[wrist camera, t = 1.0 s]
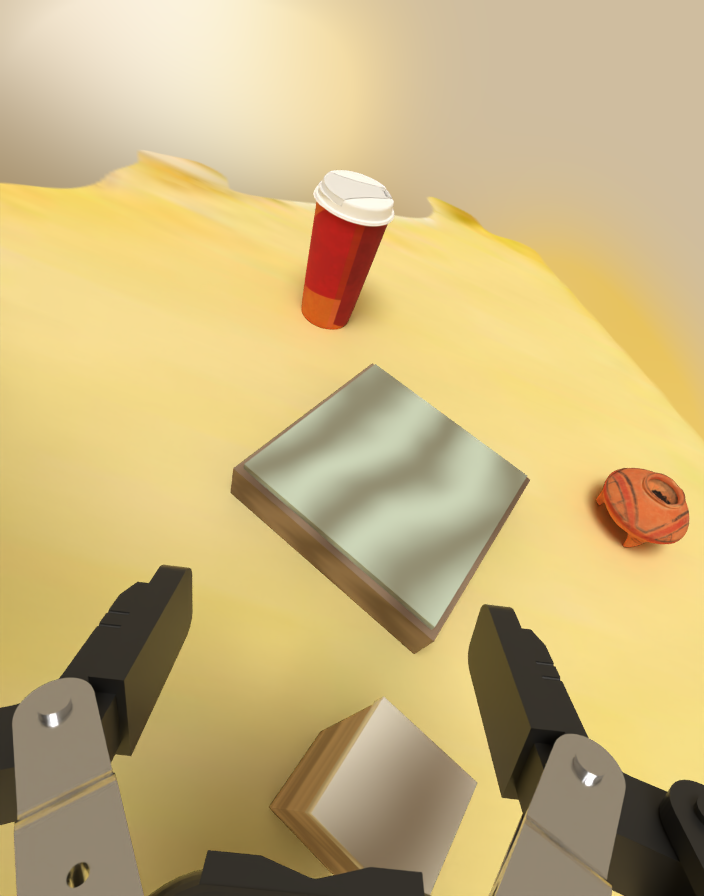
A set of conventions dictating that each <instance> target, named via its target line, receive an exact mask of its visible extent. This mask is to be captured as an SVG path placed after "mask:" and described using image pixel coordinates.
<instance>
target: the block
mask: <svg viewBox="0 0 704 896" xmlns="http://www.w3.org/2000/svg"><path fill="white" fill-rule="evenodd" d="M476 785H477V782H476V781H475V780H474V779H473V778H472V777H471V776H470V775H469V774H467V773H466V772H465V771H464V770H463V769H462V768H461V767H460V766H459V765H458V764H457V763H455V762H454V761H453V760H452V759H451V758H450V757H449V756H448V755H447V754H446V753H445V752H444V751H442V750H441V749H440V748H439V747H438V746H437V745H436V744H435V743H434V742H433V741H432V740H430V739H429V738H428V737H427V736H426V735H425V734H424V733H423V732H422V731H421V730H420V729H419V728H417V727H416V726H415V725H414V724H413V723H412V722H411V721H410V720H409V719H408V718H407V717H405V716H404V715H403V714H402V713H401V712H400V711H399V710H398V709H397V708H396V707H395V706H394V705H392V704H391V703H390V702H389V701H388V700H387V699H386V698H385V697H382V698H380V699H378V700H377V701H375V702H374V704H373V705H371V706H369V707H367V708H365V709H363V710H361V711H359V712H357V713H356V714H354V715H352V716H350V717H348V718H346V719H344V720H342V721H340V722H338V723H336V724H334V725H333V726H331V727H329V728H327V729H325V730H323V731H321V732H320V733H319V735H318V736H317V738H316V739H315V741H314V742H313V743H312V745H311V746H310V748H309V749H308V751H307V752H306V754H305V755H304V757H303V758H302V760H301V761H300V762H299V764H298V765H297V767H296V768H295V770H294V771H293V773H292V774H291V776H290V777H289V778H288V780H287V781H286V783H285V784H284V786H283V787H282V789H281V790H280V792H279V793H278V795H277V796H276V797H275V799H274V800H273V802H272V803H271V805H270V806H269V808H270V809H271V810H272V811H273V812H274V813H275V814H276V815H277V816H278V817H279V818H280V819H281V820H282V821H283V822H284V824H285V825H286V826H287V827H288V828H289V829H290V830H291V831H292V832H293V833H294V834H295V835H296V836H297V837H298V838H299V839H300V840H301V841H302V842H303V843H304V845H305V846H306V847H307V848H308V849H309V850H310V851H311V852H312V853H313V854H314V855H315V856H316V857H317V858H318V859H319V860H320V861H321V862H322V863H323V864H324V866H325V867H326V868H327V869H328V870H329V871H330V872H331V873H333V874H335V875H337V874H342V873H346V872H350V871H355V870H359V869H363V868H367V867H376V868H386V869H396V870H406V871H415V872H422V874H423V884H424V893H426V894H428V895H430V894H431V892H432V889H433V887H434V884H435V882H436V880H437V877H438V875H439V873H440V870H441V868H442V866H443V863H444V861H445V858H446V856H447V854H448V851H449V849H450V847H451V844H452V842H453V840H454V837H455V835H456V832H457V830H458V828H459V825H460V823H461V821H462V818H463V816H464V814H465V811H466V809H467V806H468V804H469V802H470V799H471V797H472V795H473V792H474V790H475V788H476Z"/></svg>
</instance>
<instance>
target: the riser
mask: <svg viewBox="0 0 704 896" xmlns="http://www.w3.org/2000/svg"><path fill="white" fill-rule="evenodd" d="M529 481H530V479H528V478H527V475H525V474H524V473H523V472H521V471H520V470H519V469H517V468H516V467H515V466H513V465H512V464H510V463H509V462H508V461H506V460H505V459H504V458H502V457H501V456H500V455H498V454H497V453H496V452H494V451H493V450H491V449H490V448H489V447H487V446H486V445H485V444H483V443H482V442H481V441H479V440H478V439H476V438H475V437H474V436H472V435H471V434H470V433H468V432H467V431H466V430H464V429H463V428H461V427H460V426H459V425H457V424H456V423H455V422H453V421H452V420H451V419H449V418H448V417H447V416H445V415H444V414H442V413H441V412H440V411H438V410H437V409H436V408H434V407H433V406H432V405H430V404H429V403H427V402H426V401H425V400H423V399H422V398H421V397H419V396H418V395H417V394H415V393H414V392H413V391H411V390H410V389H408V388H407V387H406V386H404V385H403V384H402V383H400V382H399V381H398V380H396V379H395V378H393V377H392V376H391V375H389V374H388V373H387V372H385V371H384V370H383V369H381V368H380V367H379V366H377V365H376V364H375V365H374V364H371V365H370V366H368V367H367V368H366V369H364V370H363V371H362V372H360V373H359V374H358V375H356V376H355V377H354V378H352V379H351V380H350V381H348V382H347V383H346V384H344V385H343V386H342V387H340V388H339V389H338V390H336V391H335V392H334V393H332V394H331V395H330V396H329V397H327V398H326V399H325V400H323V401H322V402H321V403H319V404H318V405H317V406H315V407H314V408H313V409H311V410H310V411H309V412H307V413H306V414H305V415H303V416H302V417H301V418H299V419H298V420H297V421H295V422H294V423H293V424H291V425H290V426H289V427H287V428H286V429H285V430H283V431H282V432H281V433H280V434H278V435H277V436H276V437H274V438H273V439H272V440H270V441H269V442H268V443H266V444H265V445H264V446H262V447H261V448H260V449H258V450H257V451H256V452H254V453H253V454H252V455H250V456H249V457H248V458H246V459H245V460H244V461H242V462H241V463H240V464H238V465H237V466H236V467H234V468H233V476H232V485H231V493H232V494H233V495H234V496H235V497H236V498H237V499H239V500H240V501H241V502H242V503H243V504H244V505H245V506H247V507H248V508H249V509H250V510H251V511H252V512H253V513H255V514H256V515H257V516H258V517H259V518H260V519H261V520H262V521H264V522H265V523H266V524H267V525H268V526H269V527H270V528H272V529H273V530H274V531H275V532H276V533H277V534H278V535H280V536H281V537H282V538H283V539H284V540H285V541H286V542H287V543H289V544H290V545H291V546H292V547H293V548H294V549H295V550H297V551H298V552H299V553H300V554H301V555H302V556H303V557H305V558H306V559H307V560H308V561H309V562H310V563H311V564H312V565H314V566H315V567H316V568H317V569H318V570H319V571H320V572H322V573H323V574H324V575H325V576H326V577H327V578H328V579H329V580H331V581H332V582H333V583H334V584H335V585H336V586H337V587H339V588H340V589H341V590H342V591H343V592H344V593H345V594H347V595H348V596H349V597H350V598H351V599H352V600H353V601H354V602H356V603H357V604H358V605H359V606H360V607H361V608H362V609H364V610H365V611H366V612H367V613H368V614H369V615H370V616H372V617H373V618H374V619H375V620H376V621H377V622H378V623H379V624H381V625H382V626H383V627H384V628H385V629H386V630H387V631H389V632H390V633H391V634H392V635H393V636H394V637H395V638H397V639H398V640H399V641H400V642H401V643H402V644H403V645H404V646H406V647H407V648H408V649H409V650H410V651H411V652H412V653H414V654H415V653H417V652H418V651H420V650H421V649H423V648H424V647H426V646H427V645H429V644H430V643H432V642H433V641H434V640H435V638H436V637H437V635H438V633H439V632H440V630H441V628H442V627H443V625H444V623H445V622H446V620H447V618H448V617H449V615H450V613H451V612H452V610H453V608H454V606H455V605H456V603H457V601H458V600H459V598H460V596H461V595H462V593H463V591H464V590H465V588H466V586H467V585H468V583H469V581H470V580H471V578H472V576H473V575H474V573H475V571H476V570H477V568H478V566H479V565H480V563H481V561H482V560H483V558H484V556H485V555H486V553H487V551H488V550H489V548H490V546H491V545H492V543H493V541H494V540H495V538H496V536H497V535H498V533H499V531H500V530H501V528H502V526H503V525H504V523H505V521H506V520H507V518H508V516H509V515H510V513H511V511H512V510H513V508H514V506H515V505H516V503H517V501H518V500H519V498H520V496H521V494H522V493H523V491H524V489H525V488H526V486H527V484H528V483H529Z"/></svg>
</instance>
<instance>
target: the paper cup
mask: <svg viewBox="0 0 704 896" xmlns="http://www.w3.org/2000/svg"><path fill="white" fill-rule="evenodd" d="M313 195H314V198H315V199H316V201H317V202H316V209H315V216H314V223H313V229H312V236H311V243H310V249H309V256H308V263H307V270H306V277H305V284H304V291H303V299H302V313H303V315H304V317H305V318H306V319H307V320H308V321H309V322H311V323H312V324H314V325H316V326H318V327H321V328H325V329H339V328H342V327H344V326H345V325H346V324H347V322H348V321H349V318H350V316H351V314H352V312H353V309H354V307H355V304H356V302H357V299H358V297H359V294H360V292H361V290H362V287H363V285H364V282H365V280H366V277H367V275H368V272H369V270H370V267H371V265H372V262H373V260H374V257H375V254H376V252H377V249H378V247H379V244H380V242H381V239H382V237H383V234H384V232H385V229H386V227H387V224H388V223H390V222H391V221H392V220H393V218H394V210H393V204H394V201H393V200H392V197H391V195H390V194H389V192H388V191H387V190H386V188H385V186H383V185H382V184H381V183H379V182H377V181H376V180H374V179H372V178H370V177H367V176H365V175H362V174H359V173H356V172H351V171H345V170H335V171H330V172H329V173H327V174H326V175H325V177H324V179H323V180H322V181H320V183H319V185H318V186H317V187H316V189H315V191H314V193H313Z"/></svg>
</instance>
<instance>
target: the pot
mask: <svg viewBox="0 0 704 896" xmlns="http://www.w3.org/2000/svg"><path fill="white" fill-rule="evenodd" d="M596 501H597V503H598V505H601V504H602V503H605V505H606V508H607V510H608V512H609V514H610V516H611V517H612V519H613V520H614V522H615V523H616V524H617V525H618V526H619V527H620V528H622V529H623V530H624V531H626V532H627V533H628V536H627V539H626V541H625V542H624V543H623V546H624V547H633V546H638V545H640V544H642V543H645V542H650V543H656V544H671V543H675V542H677V541H679V540H680V539H681V538H682V537H683V536H684V535H685V534H686V532H687V529H688V526H689V511H688V507H687V504H686V501H685V494H684V492H683V490H682V489H681V488H679V486H678V485H677V484H676V483H675V482H674V481H673V480H672V479H671V478H669V477H668V476H666V475H664V474H660V473H655V472H652V471H649V470H645V469H639V468H623V469H619V470H616V471H614V472H612V473H611V474H610V475H609V477H608V478H607V480H606V481H605V484H604V487H603V489H602V491H601V493H600V494H599V495H598V497H597V499H596Z"/></svg>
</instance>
